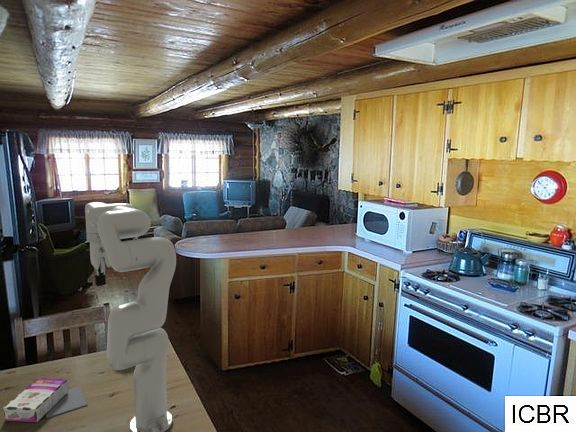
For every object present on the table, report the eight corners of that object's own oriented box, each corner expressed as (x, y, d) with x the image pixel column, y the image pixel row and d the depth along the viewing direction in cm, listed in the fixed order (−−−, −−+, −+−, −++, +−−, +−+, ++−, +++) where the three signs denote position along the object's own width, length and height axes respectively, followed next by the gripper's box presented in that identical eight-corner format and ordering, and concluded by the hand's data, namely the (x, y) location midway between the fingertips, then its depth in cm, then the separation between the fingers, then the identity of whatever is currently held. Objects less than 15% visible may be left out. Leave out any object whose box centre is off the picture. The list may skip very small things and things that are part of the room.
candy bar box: (40, 390, 147) (3, 421, 131) (38, 377, 146) (1, 406, 130) (69, 392, 145) (36, 423, 129) (68, 379, 144) (34, 409, 128)
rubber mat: (87, 405, 139) (87, 404, 139) (46, 418, 132) (46, 417, 132) (79, 387, 150) (79, 386, 149) (40, 398, 142) (40, 397, 142)
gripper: (114, 239, 147) (116, 288, 150) (103, 231, 159) (106, 278, 162) (91, 241, 143) (94, 292, 146) (82, 234, 155) (85, 281, 158)
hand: (100, 284), depth 154 cm, fingers closed
